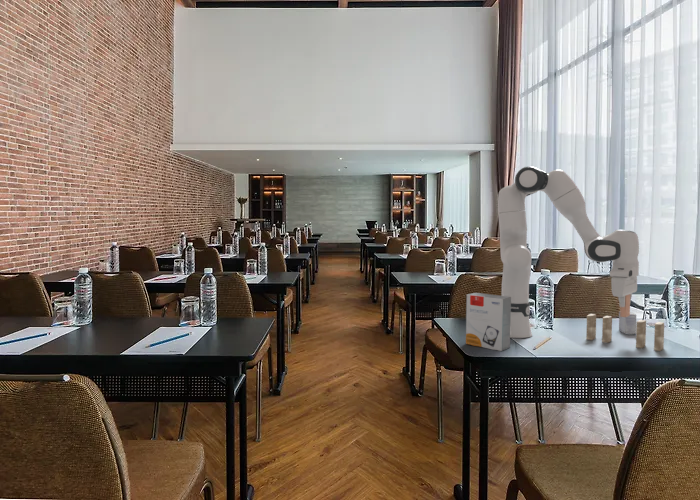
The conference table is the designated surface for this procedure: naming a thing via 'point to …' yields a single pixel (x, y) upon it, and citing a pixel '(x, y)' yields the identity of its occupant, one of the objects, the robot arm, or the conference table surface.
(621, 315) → the domino
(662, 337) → the end domino
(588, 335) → the domino
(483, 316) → the hard drive box
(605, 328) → the domino
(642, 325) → the domino
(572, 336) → the conference table surface
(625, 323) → the medicine box
